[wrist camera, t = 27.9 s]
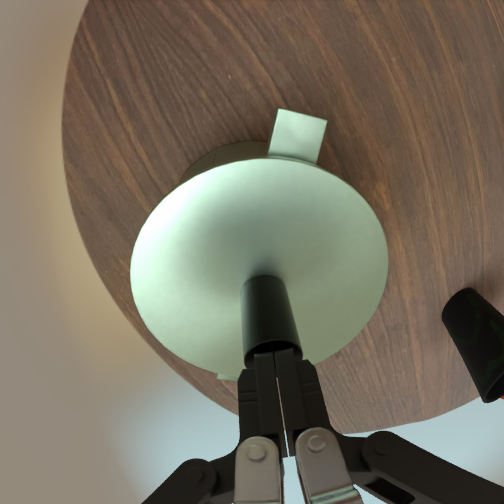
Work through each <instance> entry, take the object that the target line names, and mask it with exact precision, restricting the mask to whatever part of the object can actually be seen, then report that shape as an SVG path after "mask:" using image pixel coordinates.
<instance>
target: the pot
mask: <svg viewBox="0 0 504 504" xmlns="http://www.w3.org/2000/svg"><path fill="white" fill-rule="evenodd" d="M327 122H328V120H327V119H324V118H320V117H317V116H313V115H309V114H305V113H301V112H298V111H294V110H289V109H285V108H281V107H275V110H274V115H273V119H272V123H271V128H270V132H269V136H268V141H267V142H261V141H244V142H237V143H232V144H229V145H225V146H222V147H218V148H216V149H214V150H213V151H211V152H210V153H208V154H206V155H205V156H203V157H202V158H200V159H199V160H198V161H197V162H195V163H194V164H193V165H191V166H190V167H189V168H188V169H187V170H186V172H185V174H184V175H183V177H182V178H181V180H180V182H182V181H183V180H185V179H186V178H188V177H190V176H191V175H193V174H194V173H196V172H198V171H200V170H203V169H205V168H207V167H210V166H212V165H214V164H217V163H221V162H224V161H228V160H232V159H235V158H242V157H250V156H281V157H288V158H295V159H299V160H303V161H306V162H309V163H312V164H317V160H318V156H319V153H320V149H321V145H322V141H323V138H324V134H325V130H326V126H327ZM180 182H179V183H180ZM179 183H178V184H179ZM216 378H217V379H222V380H232V381H238V378H239V377H236V376H229V375H223V374H219V373H217V377H216Z"/></svg>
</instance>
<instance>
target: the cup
mask: <svg viewBox="0 0 504 504" xmlns="http://www.w3.org/2000/svg"><path fill="white" fill-rule="evenodd" d="M442 321H443V323H444V325H445V326H446V328H447V330H448V332H449V334H450V336H451V337H452V339H453V341H454V343H455V345H456V347H457V349H458V351H459V353H460V355H461V356H462V358H463V360H464V362H465V364H466V366H467V368H468V371H469V373H470V375H471V377H472V379H473V381H474V383H475V385H476V387H477V390H478V392H479V394H480V396H481V399H482V401H483V402H484V403H490V402H493V401H495V400H497V399H499V398H501V397H502V396H504V316H503V315H502V314H501V313H500V312H499V311H498V310H496V309H495V308H494V307H493V306H492V305H491V304H490V303H489V302H488V301H487V300H485V299H484V298H483V297H482V296H481V295H480V294H479V293H477V292H476V291H475V290H474V289H472V288H466V289H463V290H461V291H459V292H458V293H456V294H455V295H454V296H453V297H452V298H451V299H450V300H449V301H448V303H447V304H446V306H445V308H444V310H443V313H442Z"/></svg>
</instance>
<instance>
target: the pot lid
mask: <svg viewBox="0 0 504 504" xmlns="http://www.w3.org/2000/svg"><path fill="white" fill-rule="evenodd" d="M388 268H389V258H388V248H387V242H386V237H385V234H384V231H383V228H382V225H381V223H380V221H379V219H378V218H377V216H376V214H375V212H374V210H373V209H372V208H371V206H370V205H369V204H368V202H367V201H366V200H365V198H364V197H363V196H362V195H361V194H360V193H358V192H357V191H356V190H355V189H354V188H353V187H352V186H351V185H350V184H349V183H347V182H346V181H345V180H343V179H342V178H340V177H339V176H337V175H336V174H334V173H333V172H330V171H328V170H326V169H324V168H322V167H320V166H318V165H316V164H312V163H309V162H306V161H303V160H299V159H295V158H288V157H281V156H250V157H242V158H235V159H232V160H228V161H224V162H221V163H217V164H214V165H212V166H210V167H207V168H205V169H203V170H200V171H198V172H196V173H194V174H193V175H191V176H190V177H188V178H186V179H185V180H183V181H182V182H180V183H179V184H177V185H176V186H175V187H174V188H173V189H172V190H170V191H169V192H168V193H167V194H166V195H165V196H164V197H163V198H162V199H161V200H160V201H159V202H158V204H157V205H156V206H155V207H154V208H153V209H152V211H151V213H150V214H149V216H148V217H147V219H146V220H145V222H144V224H143V225H142V227H141V229H140V232H139V234H138V236H137V239H136V241H135V244H134V248H133V252H132V256H131V264H130V282H131V290H132V294H133V298H134V302H135V305H136V307H137V309H138V312H139V314H140V316H141V318H142V320H143V321H144V323H145V325H146V326H147V328H148V329H149V330H150V331H151V333H152V334H153V335H154V336H155V338H156V339H157V340H158V341H159V342H160V343H161V344H163V345H164V346H165V347H166V348H167V349H168V350H170V351H171V352H172V353H174V354H175V355H177V356H178V357H180V358H182V359H183V360H185V361H187V362H189V363H191V364H193V365H195V366H197V367H199V368H202V369H205V370H208V371H211V372H215V373H219V374H223V375H229V376H236V377H239V376H240V373H241V371H242V369H247V368H255V361H254V354H259V353H265V352H272V353H273V360H274V366H275V373H276V377H278V376H277V369H276V362H275V355H274V351H278V350H284V349H290V348H292V349H293V354H294V358H295V361H299V360H305V359H308V360H309V361H310V362H311V364H312V365H314V364H316V363H319V362H321V361H322V360H324V359H326V358H328V357H330V356H331V355H333V354H334V353H336V352H337V351H339V350H340V349H342V348H343V347H344V346H345V345H347V344H348V343H349V342H350V341H351V340H353V339H354V338H355V337H356V335H357V334H358V333H359V332H360V331H361V330H362V329H363V328H364V327H365V325H366V324H367V323H368V321H369V320H370V319H371V317H372V315H373V314H374V312H375V310H376V309H377V307H378V305H379V302H380V300H381V298H382V296H383V293H384V289H385V286H386V282H387V276H388Z"/></svg>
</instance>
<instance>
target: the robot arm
mask: <svg viewBox="0 0 504 504" xmlns="http://www.w3.org/2000/svg"><path fill="white" fill-rule="evenodd" d="M274 355H275V362H276V369H277V376H278V383H279V390H280V396H281V403H282V409H283V416H284V422H285V429H286V435H287V442H288V448H289V456H290V457H291V456H295V459H296V465H297V473H298V478H299V482H300V486H301V490H302V494H303V497H304V501H305V504H364V503H363V500H362V498H361V495H360V493H359V492H358V490H357V489H355V488H354V486H353V484H356V485H357V486H359V487H360V488H362V489H364V490H365V491H367V492H368V493H370V494H372V495H373V496H375V497H377V498H378V499H380V500H382V501H384V502H385V503H387V504H504V487H502V486H500V485H497V484H495V483H493V482H491V481H488V480H486V479H484V478H482V477H479V476H477V475H475V474H473V473H471V472H468V471H466V470H464V469H462V468H460V467H458V466H456V465H454V464H452V463H449V462H447V461H445V460H443V459H441V458H439V457H437V456H435V455H433V454H432V453H430V452H428V451H426V450H424V449H422V448H420V447H418V446H416V445H414V444H412V443H410V442H409V441H407V440H405V439H403V438H401V437H399V436H398V435H396V434H394V433H392V432H389V431H378V432H375V433H373V434H371V435H370V436H368V437H366V438H365V437H348V436H344V435H342V434H339V433H338V432H336V431H335V430H334V429H333V427H332V426H331V424H330V421H329V417H328V413H327V410H326V406H325V402H324V398H323V394H322V390H321V387H320V383H319V379H318V375H317V372H316V368H315V367H314V366H313V365H312V364H311V362H310V361H309V360H308V359H305V360H299V361H295V358H294V354H293V349H292V348H290V349H284V350H278V351H274ZM254 361H255V368H247V369H242V371H241V373H240V376H239V378H238V402H239V403H238V405H239V428H240V439H239V443H238V445H237V446H236V448H235V449H234V450H233V451H232V452H231V453H229V454H228V455H226V456H224V457H221V458H218V459H215V460H212V461H210V462H208V461H206V460H203V459H190V460H187V461H185V462H184V463H182V464H181V465H180V466H179V467H178V468H177V469H176V470H175V471H174V472H173V473H172V474H171V475H170V476H169V477H168V478H167V479H166V480H165V481H164V482H163V483H162V484H161V485H160V486H159V487H158V488H157V489H156V490H155V491H154V492H153V493H152V494H151V495H150V496H149V497H148V498H147V499H146V500H145V501H144V502H143V503H142V504H232V503H234V504H284V465H283V458H285V457H288V455H287V448H286V441H285V434H284V427H283V420H282V413H281V407H280V400H279V393H278V386H277V380H276V373H275V366H274V360H273V353H272V352H265V353H259V354H254Z"/></svg>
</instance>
